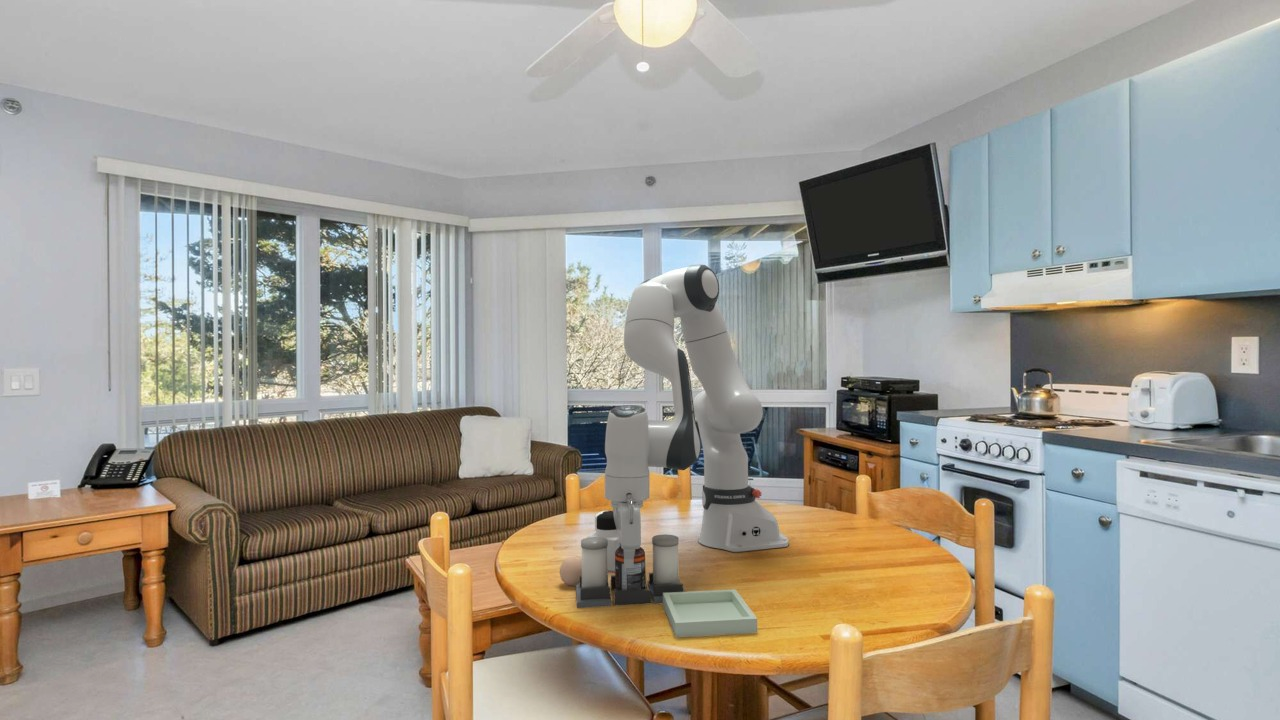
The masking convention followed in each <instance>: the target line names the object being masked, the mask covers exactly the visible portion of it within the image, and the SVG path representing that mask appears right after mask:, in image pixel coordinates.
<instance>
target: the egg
mask: <svg viewBox="0 0 1280 720" xmlns="http://www.w3.org/2000/svg"><path fill="white" fill-rule="evenodd" d="M580 576H582V559H580V558H578V556H575V555H570V556H567V557H566V558H564V559H563V561H562V563H561V565H560V567H559V577H560V579H561V581H562V582H563V583H564V584H566V585H568V586H572V587H573V586H576V584H580Z"/></svg>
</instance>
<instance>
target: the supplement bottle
mask: <svg viewBox="0 0 1280 720" xmlns="http://www.w3.org/2000/svg"><path fill="white" fill-rule="evenodd" d="M614 575H615V589H614V590H633V589H646V588H645V575H646V552H645V549H644V548H643V547H641V546H640V548H639V549H635V554H634V566H633V568H625V567H624V550H623V549H622V548H621V545H620V546H619V548H618V549H617V550H616V552H615V572H614Z"/></svg>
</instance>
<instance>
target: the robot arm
mask: <svg viewBox="0 0 1280 720" xmlns="http://www.w3.org/2000/svg"><path fill="white" fill-rule="evenodd" d="M631 294H632V295H631V297H630V299H629V300H630V301H629V303H628V308H627V312H626V316H625V323H624V331H623V346H624V351H625V352H626V353H625V354H626V355H627V356H628V358H629V359H630V360H631V361H632V362H633V363H635V364H636V365H637V366H638V367H640V368H643V369H644V370H647V371H649V372H651V373H655V374H657V375H659V376H662V377H663V378H664V379H666V380H668V381H669V382H670V383H671V389H672V398H673V399H672V400H673V410H674V418H673V419H672V420H652V419H651V420H649V418H648V412H647V410H646V408H644V407H642V406H640V405H633V404H629V405H628V404H627V405H621V406H616V407H614V408H612V409H610V410H609V413H608V415H607V419H606V427H605V428H606V429H605V440H604V441H605V442H604V454H605V456H606V467H605V470H604V498H605V499H606V500H608V501H610V506H611V508H612V511H613V515H614V521H615V525H616V529H617V533H618V537H619V541H620V545H621V548H622V549H623V550H624V567H625V568H633V566H634V554H635V549H639V548H640V547H641V544H642V523H641V520H642V519H641V508H643V506H644V501H647V500H648V499H650V482H651V481H650V478H651V477H650V475H651V474H650V467H651V468H667V469H671V470H679V471H686V470H687V469H688V468H689V469H690V468H691V466H693V465H694V464H695V463H696V462H697V461H698V460H699V456H700V451H701V445H702V451H703V452H702V453H703V471H704V472H703V473H704V474H703V475H704V477H703V483H704V484H703V485H702V491H701V493H702V494H701V495H702V497H701V501H702V507H703V511H702V513H703V514H702V523H701V527H700V532H699V535H698V538H697V540H698V542H699V543H700V544H701V545H703V546H705V547H708V548H709V547H710V548H713V549H714V548H715V549H721V550H726V551H729V552H732V553H733V552H734V553H738V552H739V553H742V552H749V551H758V550H767V549H769V550H770V549H775V548H776V549H778V548H785V547H786V548H787V547H788V546H789V539H788V537H787V536H786V535H785V534H784V533H782V532H780V529H779V528H780V527H779V523H778V520H777V518H776V517H775V516H774V514H773V513H771V512H770V511H769V510H768V509H767V508H765V507H764V506H763V505H762V504H760V503H759V502H758V501H756V499H761V497H762V495H763V494H762V491H761V490H759V489H758V488H754V487H752V486H750V485H749V456H748V453H747V451H746V449H745V447H744V444H743V442H742V438H741V434H745V433H749V432H752V431H753V430H755V429H756V428H758V426H759V425H760V423H761V421H762V419H763V413H764V412H763V411H764V410H763V406H762V405H763V404H762V403H761V401H760V400H759V398H758V397H757V396H756V395H755V394H754V393H753V392H752V390H751V388H750V386H749V385H748V383H747V381H746V379H745V377H744V375H743V373H742V371H741V369H740V367H739V365H738V363H737V361H736V357H735V355H734V354H735V353H734V350H733V346H732V343H731V340H730V336H729V332H728V328H727V324H726V322H725V319H724V317H723V314H722V312H721V309H720V307H719V305H718V304H719V303H718V302H717V301H718V299H719V295H720V284H719V280H718V277H717V275H716V273H715V272H714V271H713V269H711V268H710V267H709V266H707V265H705V264H691V265H689V266H687V267H681V268H676V269H672V270H670V271H666V272H665V273H662V274H661V275H656V276H655V277H654V278H648V279H646V280H645V281H643V282H641V283H640V284H638V285H637V286H636V287H635V288H634V290H633V292H632V293H631ZM678 318H680V319H679V320H680V326H681V331H682V336H683V341H684V344H685V348H686V351H687V356H688V358H689V363H690V366H691V370H692V372H693V374H694V376H695V377H696V378H697V379H698V381H699V383H700V384H701V386H702V389H703V390H702V391H700V392H699V393H697V395H696V396H695V397H694V399H693V390H692V383H691V374H690V368H689V363H688V359H687V356H686V354H685V351H684V350H682V349H680V348H679V347H678V346H677V344H676V341H675V337H674V336H675V335H674V334H675V333H674V330H675V319H678ZM696 422H697V424H696ZM697 427H698V429H697ZM698 431H699V432H698ZM699 436H700V437H699Z"/></svg>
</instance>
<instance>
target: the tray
mask: <svg viewBox="0 0 1280 720" xmlns="http://www.w3.org/2000/svg"><path fill="white" fill-rule="evenodd" d="M662 607H663V610H664V612H665V615H666V617H667V619H668V620H667V621H668V622H669V625H670V627H671V629H672V632H673V635H674V637H675V638H689V637H690V638H691V637H706V636H707V637H708V636H724V635H725V636H726V635H741V634H742V635H743V634H758V618H757V616H756V615H755V613H754V612H753V611H752V610H751V608H750V606H749V605H748V604H747V603H746V602H745V600H744V599H743V597H742V596H741V595H740V593H739V592H738V591H737V589H735V588H733V589H718V590H716V589H714V590H695V591H694V590H693V591H692V590H691V591H685V592H669V593H663V604H662Z"/></svg>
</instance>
